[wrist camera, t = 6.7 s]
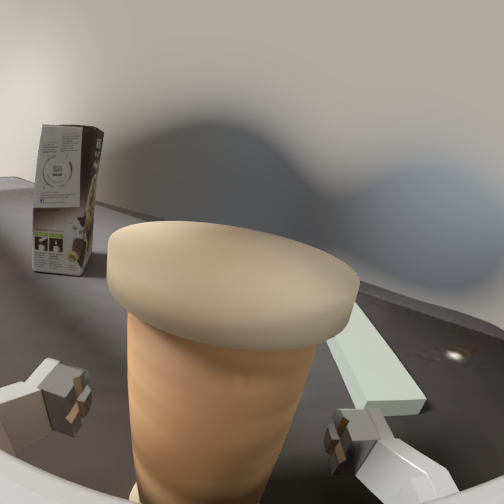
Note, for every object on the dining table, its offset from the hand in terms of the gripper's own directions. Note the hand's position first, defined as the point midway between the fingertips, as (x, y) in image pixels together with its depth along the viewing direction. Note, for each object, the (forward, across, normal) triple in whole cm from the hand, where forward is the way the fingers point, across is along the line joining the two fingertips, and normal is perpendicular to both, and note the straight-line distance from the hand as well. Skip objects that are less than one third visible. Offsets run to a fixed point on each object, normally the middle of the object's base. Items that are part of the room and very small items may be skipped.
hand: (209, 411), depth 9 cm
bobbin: (-1, 0, +6) cm, 7 cm away
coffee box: (+26, +20, +7) cm, 34 cm away
